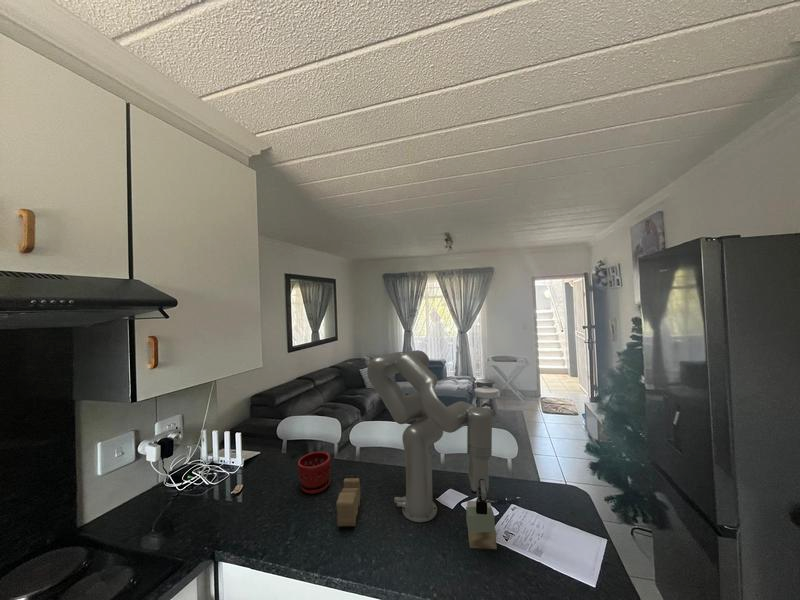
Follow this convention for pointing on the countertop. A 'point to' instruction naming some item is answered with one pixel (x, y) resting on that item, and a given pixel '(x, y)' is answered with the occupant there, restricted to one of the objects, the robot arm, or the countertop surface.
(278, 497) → the countertop surface
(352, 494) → the toy train
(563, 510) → the countertop surface
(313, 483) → the plant pot
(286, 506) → the countertop surface
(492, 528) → the sage brick
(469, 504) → the offwhite brick
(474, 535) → the beech brick
